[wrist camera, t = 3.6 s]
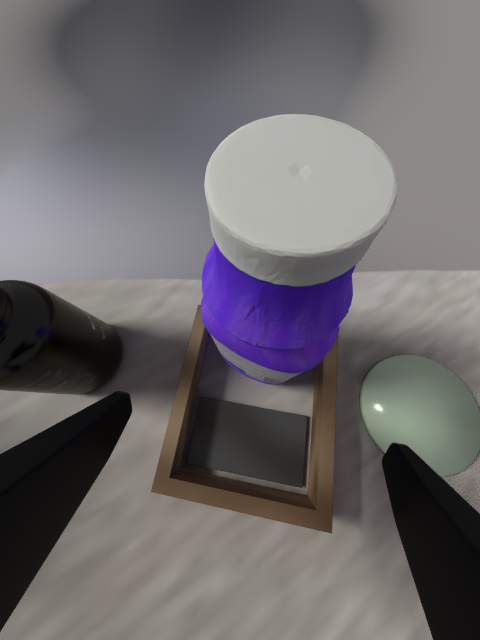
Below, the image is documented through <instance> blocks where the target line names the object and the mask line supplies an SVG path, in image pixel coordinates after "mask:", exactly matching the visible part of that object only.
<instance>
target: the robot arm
mask: <svg viewBox="0 0 480 640" xmlns="http://www.w3.org/2000/svg"><path fill="white" fill-rule="evenodd" d="M131 413H132V405H131V399H130V394H129V393H127V392H122V391H117V392H114V393H112V394H111V395H109V396H107V397H105V398H103V399H101V400H100V401H98V402H96V403H94V404H92V405H90V406H89V407H87V408H85V409H83V410H81V411H79V412H77V413H76V414H74V415H72V416H70V417H68V418H66V419H65V420H63V421H61V422H59V423H57V424H55V425H54V426H52V427H50V428H48V429H46V430H44V431H42V432H41V433H39V434H37V435H35V436H33V437H31V438H30V439H28V440H26V441H24V442H22V443H20V444H19V445H17V446H15V447H13V448H11V449H9V450H7V451H6V452H4V453H2V454H0V631H1V630H2V628H3V627H4V625H5V624H6V622H7V620H8V619H9V617H10V616H11V614H12V612H13V611H14V609H15V608H16V606H17V604H18V603H19V601H20V600H21V598H22V596H23V595H24V593H25V592H26V590H27V588H28V587H29V585H30V584H31V582H32V580H33V579H34V577H35V576H36V574H37V573H38V571H39V569H40V568H41V566H42V565H43V563H44V561H45V560H46V558H47V557H48V555H49V553H50V552H51V550H52V549H53V547H54V545H55V544H56V542H57V541H58V539H59V537H60V536H61V534H62V533H63V531H64V529H65V528H66V526H67V525H68V523H69V521H70V520H71V518H72V517H73V515H74V514H75V512H76V510H77V509H78V507H79V506H80V504H81V502H82V501H83V499H84V498H85V496H86V494H87V493H88V491H89V490H90V488H91V486H92V485H93V483H94V482H95V480H96V478H97V477H98V475H99V474H100V472H101V470H102V469H103V467H104V466H105V464H106V462H107V461H108V459H109V457H110V455H111V454H112V452H113V450H114V448H115V446H116V444H117V442H118V440H119V438H120V436H121V434H122V432H123V430H124V428H125V426H126V424H127V422H128V420H129V418H130V416H131ZM382 466H383V471H384V475H385V479H386V484H387V488H388V493H389V497H390V502H391V506H392V510H393V514H394V518H395V522H396V525H397V529H398V532H399V535H400V538H401V541H402V544H403V547H404V551H405V554H406V557H407V560H408V563H409V566H410V569H411V572H412V575H413V579H414V582H415V585H416V588H417V591H418V594H419V597H420V600H421V603H422V606H423V610H424V613H425V616H426V619H427V622H428V625H429V628H430V631H431V634H432V637H433V640H480V514H479V513H478V512H477V511H476V510H475V509H474V508H473V507H472V506H471V505H470V504H469V503H468V502H467V501H466V500H465V499H463V498H462V497H461V496H460V495H459V494H458V493H457V492H456V491H455V490H454V489H453V488H452V487H451V486H450V485H449V484H448V483H447V482H446V481H445V480H443V479H442V478H441V477H440V476H439V475H438V474H437V473H436V472H435V471H434V470H433V469H432V468H431V467H430V466H429V465H428V464H427V463H426V462H425V461H424V460H422V459H421V458H420V457H419V456H418V455H417V454H416V453H415V452H414V451H413V450H412V449H411V448H410V447H409V446H407V445H405V444H400V443H391V444H390V446H389V448H388V449H387V451H386V453H385V455H384V456H383V459H382Z"/></svg>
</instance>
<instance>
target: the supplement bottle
mask: <svg viewBox="0 0 480 640" xmlns="http://www.w3.org/2000/svg"><path fill="white" fill-rule="evenodd" d="M121 358H122V342H121V339H120V337H119V335H118V333H117V332H116V331H115V330H114V329H113V328H112V327H111V326H110V325H108V324H106V323H105V322H103V321H101V320H99V319H98V318H96V317H94V316H92V315H90V314H89V313H87V312H85V311H83V310H82V309H80V308H78V307H76V306H74V305H73V304H71V303H69V302H67V301H65V300H64V299H62V298H60V297H58V296H56V295H55V294H53V293H51V292H49V291H47V290H46V289H44V288H42V287H40V286H37V285H35V284H33V283H29V282H25V281H18V280H4V281H0V390H7V391H23V392H39V393H56V394H84V393H88V392H91V391H94V390H96V389H98V388H99V387H101V386H102V385H104V384H105V383H106V382H107V381H108V380H109V379H110V378H111V377H112V376H113V375H114V373H115V372H116V370H117V368H118V366H119V364H120V361H121Z"/></svg>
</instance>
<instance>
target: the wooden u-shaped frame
mask: <svg viewBox="0 0 480 640" xmlns="http://www.w3.org/2000/svg"><path fill="white" fill-rule="evenodd" d="M209 335H210V333H209V332H208V330H207V329H206V327H205V325H204V323H203V321H202V317H201V305H198V308H197V312H196V316H195V320H194V324H193V328H192V332H191V336H190V339H189V343H188V347H187V351H186V355H185V359H184V363H183V367H182V371H181V375H180V379H179V383H178V387H177V391H176V395H175V399H174V403H173V407H172V411H171V415H170V419H169V423H168V427H167V431H166V435H165V439H164V443H163V447H162V451H161V454H160V458H159V462H158V466H157V470H156V474H155V478H154V482H153V486H152V490H151V492H154V493H159V494H163V495H167V496H172V497H176V498H180V499H185V500H189V501H193V502H198V503H202V504H206V505H211V506H215V507H219V508H224V509H228V510H232V511H237V512H241V513H246V514H250V515H254V516H259V517H263V518H267V519H272V520H276V521H280V522H285V523H289V524H293V525H298V526H302V527H306V528H311V529H315V530H319V531H324V532H328V533H332V511H333V478H334V445H335V411H336V378H337V345H338V335H337V337H336V340H335V342H334V345H333V347H332V349H331V350H330V351H328V352H327V353H326V354H325V356H324V357H323V359H322V361H321V362H320V363H319V364H317V365H316V366H315V382H314V398H313V415H312V431H311V447H310V464H309V480H308V496H306V495H301V494H297V493H292V492H287V491H283V490H278V489H274V488H269V487H264V486H260V485H255V484H250V483H246V482H241V481H237V480H232V479H227V478H223V477H218V476H214V475H209V474H204V473H200V472H195V471H190V470H186V469H181V468H180V464H181V460H182V455H183V451H184V447H185V442H186V438H187V433H188V429H189V424H190V420H191V415H192V411H193V406H194V402H195V397H196V393H197V388H198V384H199V380H200V375H201V371H202V366H203V362H204V357H205V353H206V348H207V344H208V339H209ZM306 425H307V416H302V415H296V414H291V413H285V412H280V411H274V410H269V409H264V408H258V407H253V406H247V405H242V404H236V403H231V402H225V401H220V400H214V399H209V398H204V397H201V398H200V402H199V407H198V411H197V416H196V421H195V425H194V430H193V435H192V439H191V444H190V448H189V453H188V458H187V462H186V463H188V464H192V465H197V466H202V467H206V468H211V469H216V470H220V471H225V472H230V473H234V474H239V475H244V476H248V477H253V478H258V479H262V480H267V481H272V482H276V483H281V484H286V485H290V486H295V487H300V488H302V483H303V469H304V454H305V439H306Z"/></svg>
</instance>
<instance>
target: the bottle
mask: <svg viewBox="0 0 480 640" xmlns="http://www.w3.org/2000/svg"><path fill="white" fill-rule="evenodd" d="M204 187H205V194H206V200H207V205H208V210H209V214H210V224H211V230H212V235H213V237H214V245H213V246H212V248H211V249H210V251H209V253H208V255H207V257H206V260H205V264H204V269H203V274H202V292H203V298H202V302H201V317H202V321H203V323H204V325H205V327H206V329H207V330H208V332H209V333H210V335H211V337H212V338H213V340H214V342H215V344H216V346H217V348H218V350H219V352H220V354H221V356H222V357H223V359H224V360H225V361H226V362H227V363H228V364H229V365H230V366H232V367H233V368H234V369H236V370H237V371H239V372H240V373H242V374H244V375H246V376H248V377H250V378H252V379H254V380H257V381H259V382H262V383H266V384H281V383H283V382H286V381H287V380H289V379H291V378H293V377H295V376H297V375H299V374H301V373H303V372H305V371H307V370H309V369H311V368H313V367H315V366H316V365H317V364H319V363H320V362H321V361H322V359H323V357H324V356H325V354H326V353H327V352H328V351H330V350H331V349H332V347H333V345H334V342H335V340H336V337H337V335H338V332H339V324H340V322H341V321H342V320H343V319H344V317H345V316H346V314H347V313H348V310H349V307H350V305H351V301H352V296H353V287H352V273H353V270H354V268H355V266H356V264H357V263H358V262H359V260H361V258H362V257H363V256H364V254H365V253H366V251H367V250H368V248H369V247H370V245H371V243H372V241H373V240H374V238H375V237H376V236H377V234H378V233H379V232H380V230H381V229H382V228H383V226H384V225H385V224H386V221H387V220H388V218H389V216H390V214H391V212H392V210H393V208H394V205H395V203H396V196H397V178H396V175H395V173H394V170H393V167H392V164H391V162H390V160H389V159H388V157H387V156H386V154H385V153H384V152H383V150H382V149H381V148H380V147H379V146H378V145H377V144H376V143H375V142H374V141H372V140H371V139H370V138H369V137H367V136H366V135H365V134H363V133H361V132H360V131H357V130H356V129H354V128H352V127H350V126H348V125H347V124H344V123H341V122H337V121H335V120H331V119H328V118H324V117H320V116H314V115H302V114H286V115H278V116H272V117H268V118H263V119H259V120H257V121H254V122H251V123H249V124H247V125H245V126H242V127H240V128H239V129H238V130H236V131H235V132H233V133H232V134H230V135H229V136H228V137H227V138H226V139H225V140H224V141H223V142H221V144H220V145H219V146H218V147H217V149H216V150H215V152H214V153H213V154H212V156H211V158H210V161H209V163H208V165H207V170H206V175H205V185H204Z"/></svg>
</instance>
